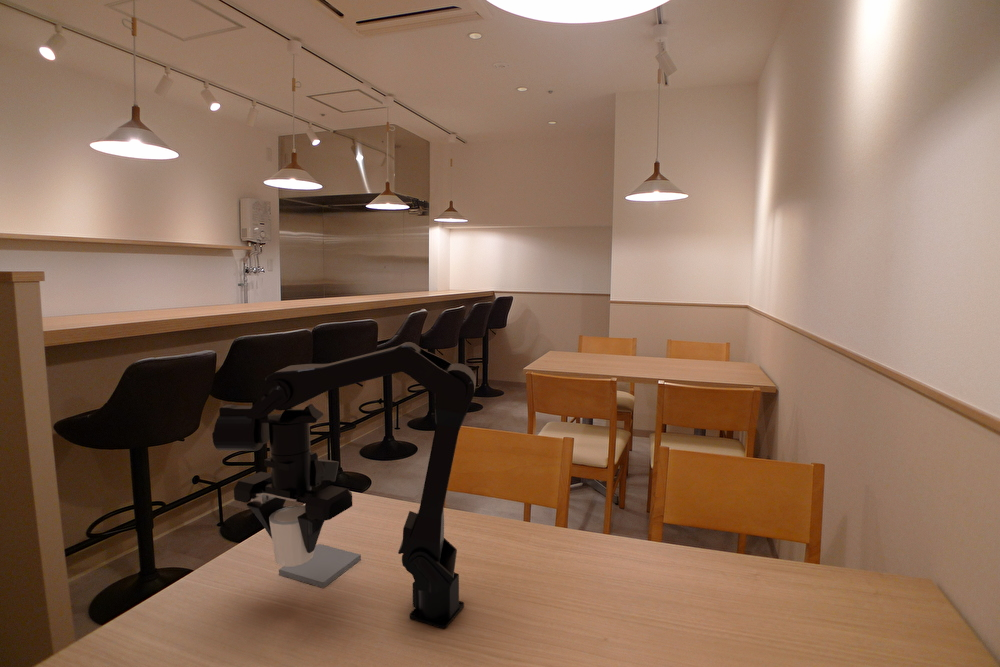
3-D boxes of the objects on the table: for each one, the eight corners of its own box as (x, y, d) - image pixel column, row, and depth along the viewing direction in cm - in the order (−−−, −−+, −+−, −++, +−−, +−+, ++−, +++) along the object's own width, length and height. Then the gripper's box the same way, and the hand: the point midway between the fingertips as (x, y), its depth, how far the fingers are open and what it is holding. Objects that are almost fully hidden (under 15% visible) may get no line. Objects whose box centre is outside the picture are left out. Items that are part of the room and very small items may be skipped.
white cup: (325, 547, 86) (323, 505, 86) (305, 570, 80) (304, 525, 79) (284, 544, 87) (282, 503, 86) (261, 567, 80) (259, 522, 79)
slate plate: (360, 559, 100) (360, 554, 100) (323, 588, 91) (323, 582, 91) (318, 548, 104) (318, 543, 104) (279, 574, 95) (278, 569, 95)
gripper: (373, 442, 85) (375, 536, 87) (284, 428, 92) (288, 515, 94) (324, 465, 75) (328, 570, 77) (228, 447, 82) (234, 544, 84)
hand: (294, 547), depth 83 cm, fingers closed on white cup, 6 cm apart
